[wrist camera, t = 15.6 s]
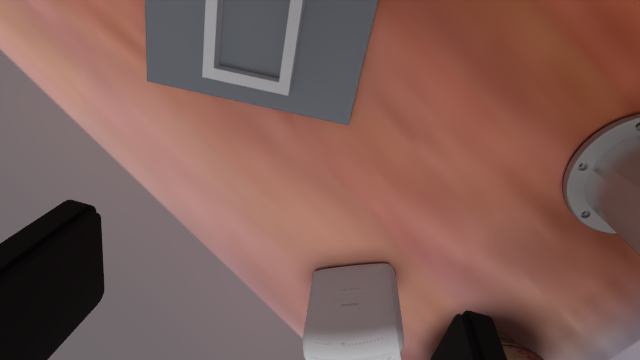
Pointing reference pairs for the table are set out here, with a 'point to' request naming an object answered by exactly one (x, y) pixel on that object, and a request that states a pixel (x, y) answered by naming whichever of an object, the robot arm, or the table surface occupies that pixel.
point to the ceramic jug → (516, 350)
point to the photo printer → (354, 314)
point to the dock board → (263, 51)
